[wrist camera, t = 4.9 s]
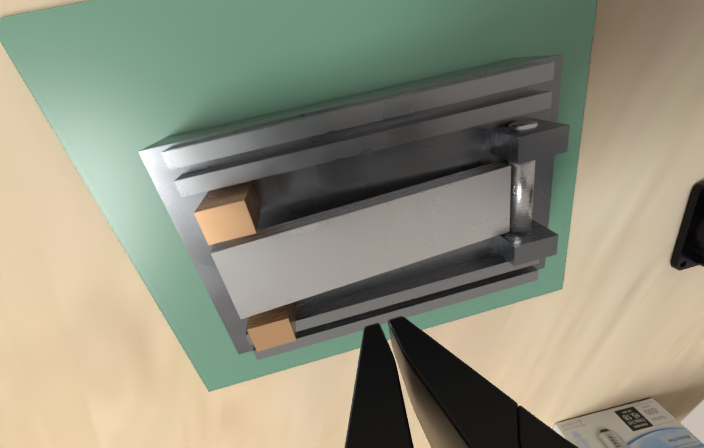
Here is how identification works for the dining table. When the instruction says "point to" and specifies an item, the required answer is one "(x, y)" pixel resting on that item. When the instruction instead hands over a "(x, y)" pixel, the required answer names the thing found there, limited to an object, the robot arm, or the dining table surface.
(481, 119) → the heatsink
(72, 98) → the board
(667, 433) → the light bulb box
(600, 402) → the dining table surface
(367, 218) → the grey flat long bar
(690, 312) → the dining table surface
